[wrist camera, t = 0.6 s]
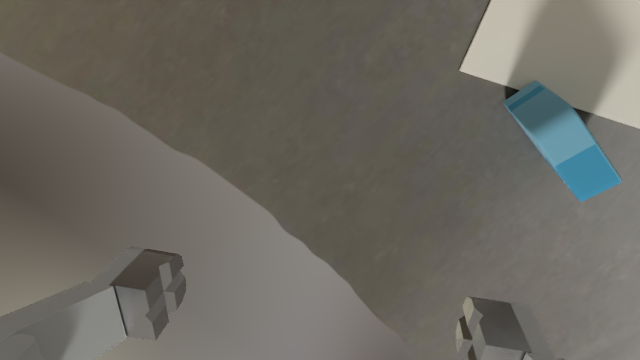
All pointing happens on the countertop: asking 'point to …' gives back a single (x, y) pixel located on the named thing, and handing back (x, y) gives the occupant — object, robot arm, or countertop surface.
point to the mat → (564, 52)
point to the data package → (563, 140)
